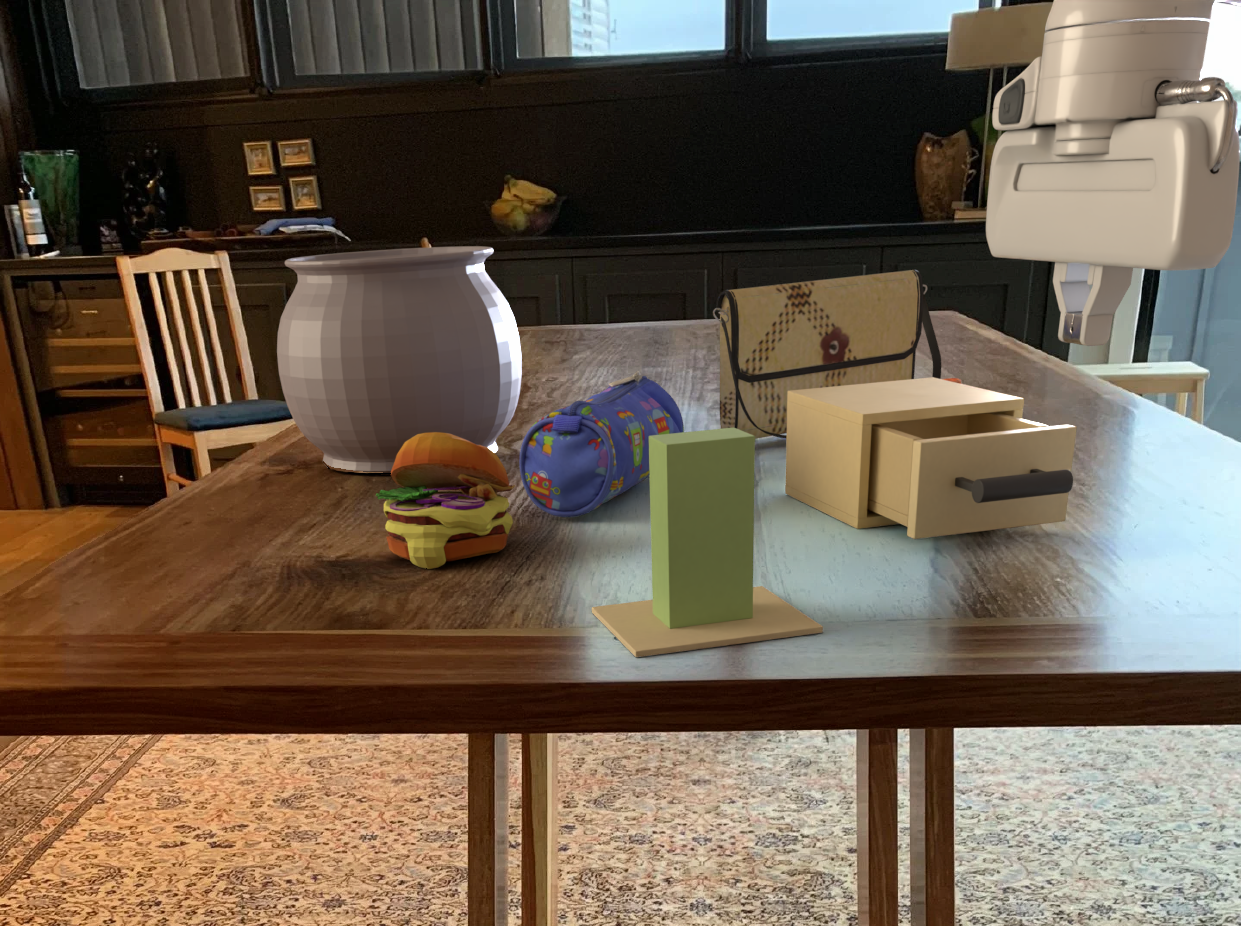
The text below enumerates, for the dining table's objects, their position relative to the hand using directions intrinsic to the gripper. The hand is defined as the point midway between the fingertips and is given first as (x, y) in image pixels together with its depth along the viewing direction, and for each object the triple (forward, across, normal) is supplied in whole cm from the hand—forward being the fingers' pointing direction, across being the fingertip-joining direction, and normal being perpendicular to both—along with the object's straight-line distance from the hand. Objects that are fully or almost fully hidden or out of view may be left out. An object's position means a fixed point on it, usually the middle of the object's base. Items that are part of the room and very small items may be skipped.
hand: (1082, 343), depth 83 cm
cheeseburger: (+15, +24, +38) cm, 47 cm away
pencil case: (+15, +38, +20) cm, 46 cm away
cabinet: (+15, +24, 0) cm, 28 cm away
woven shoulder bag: (+15, +58, -10) cm, 61 cm away
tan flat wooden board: (+15, -1, +26) cm, 30 cm away
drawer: (+14, +13, 0) cm, 19 cm away
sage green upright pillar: (+14, -1, +26) cm, 29 cm away
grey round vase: (+16, +66, +34) cm, 76 cm away
